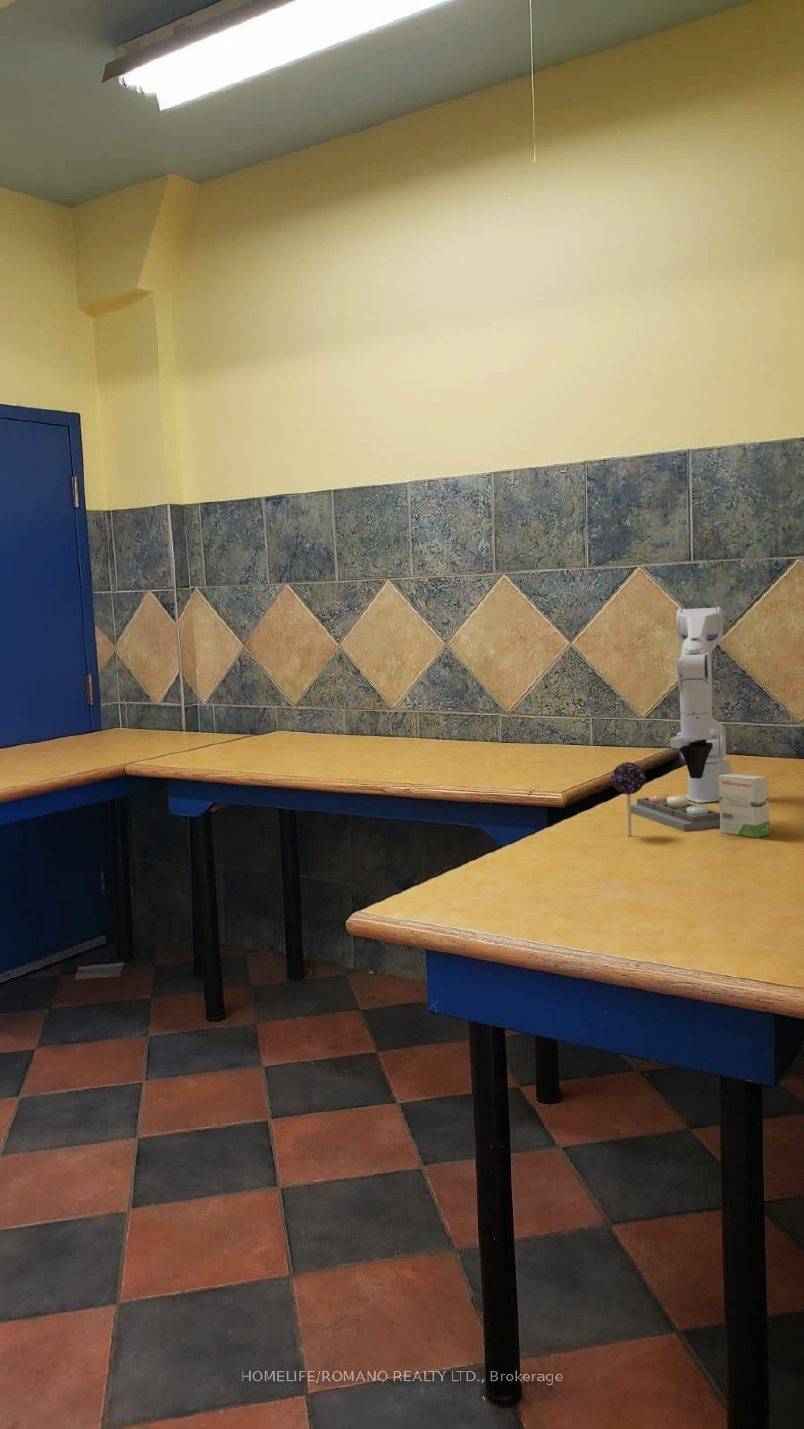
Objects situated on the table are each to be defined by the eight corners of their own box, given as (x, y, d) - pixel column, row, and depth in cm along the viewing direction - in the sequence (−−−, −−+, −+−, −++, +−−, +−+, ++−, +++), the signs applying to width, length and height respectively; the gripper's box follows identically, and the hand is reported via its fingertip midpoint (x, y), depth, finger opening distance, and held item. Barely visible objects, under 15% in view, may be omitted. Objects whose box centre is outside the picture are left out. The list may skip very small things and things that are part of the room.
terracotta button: (662, 801, 241) (662, 793, 241) (673, 804, 237) (673, 796, 237) (645, 803, 240) (644, 795, 240) (655, 806, 236) (655, 798, 236)
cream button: (681, 802, 234) (680, 794, 234) (692, 806, 230) (692, 798, 230) (663, 805, 233) (662, 796, 233) (674, 808, 229) (674, 800, 228)
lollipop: (650, 838, 215) (648, 764, 213) (616, 840, 215) (613, 766, 214) (643, 830, 222) (641, 758, 220) (610, 832, 222) (607, 760, 220)
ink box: (770, 834, 214) (770, 775, 212) (756, 839, 210) (755, 779, 209) (732, 828, 220) (731, 771, 219) (718, 832, 217) (717, 774, 216)
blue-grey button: (700, 813, 227) (700, 804, 227) (712, 817, 223) (712, 808, 223) (682, 815, 226) (682, 807, 226) (694, 819, 222) (694, 811, 221)
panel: (672, 806, 244) (672, 794, 243) (730, 824, 223) (730, 812, 223) (629, 811, 240) (628, 799, 240) (684, 831, 220) (683, 818, 219)
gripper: (697, 707, 230) (699, 770, 231) (657, 715, 220) (659, 781, 222) (727, 709, 224) (728, 773, 226) (686, 717, 215) (688, 784, 217)
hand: (696, 777), depth 224 cm, fingers closed
